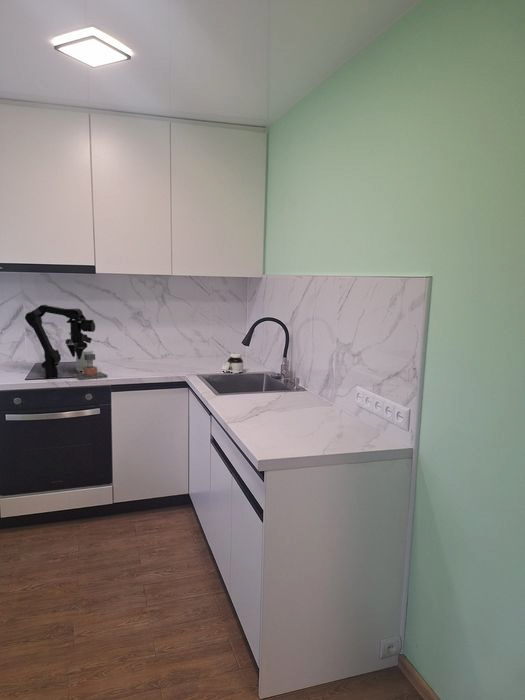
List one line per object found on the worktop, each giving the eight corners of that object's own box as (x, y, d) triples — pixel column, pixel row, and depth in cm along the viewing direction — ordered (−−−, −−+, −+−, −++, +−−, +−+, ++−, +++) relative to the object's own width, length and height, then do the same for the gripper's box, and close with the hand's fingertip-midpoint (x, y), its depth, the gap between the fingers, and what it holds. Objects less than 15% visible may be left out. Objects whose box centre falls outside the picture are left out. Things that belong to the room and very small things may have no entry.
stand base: (80, 380, 271) (80, 370, 270) (73, 376, 280) (72, 366, 279) (107, 377, 282) (107, 367, 281) (100, 374, 290) (99, 364, 290)
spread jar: (244, 372, 309) (245, 355, 308) (232, 375, 301) (233, 357, 299) (231, 370, 317) (231, 352, 315) (219, 372, 308) (219, 354, 306)
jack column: (86, 368, 277) (86, 355, 276) (84, 367, 280) (84, 354, 279) (95, 367, 281) (95, 354, 279) (93, 366, 283) (92, 353, 282)
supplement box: (87, 372, 295) (86, 351, 293) (76, 371, 296) (75, 351, 294) (93, 370, 302) (93, 350, 300) (82, 369, 303) (82, 349, 301)
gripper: (96, 332, 270) (96, 359, 273) (84, 328, 284) (84, 354, 287) (76, 333, 263) (76, 361, 266) (64, 329, 277) (65, 356, 280)
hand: (76, 358), depth 275 cm, fingers open, 9 cm apart
